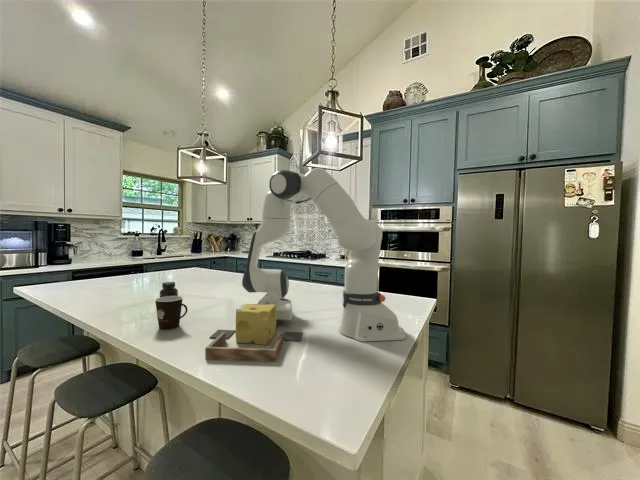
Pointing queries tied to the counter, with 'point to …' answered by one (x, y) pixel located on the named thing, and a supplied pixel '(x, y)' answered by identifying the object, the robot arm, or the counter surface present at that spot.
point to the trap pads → (287, 335)
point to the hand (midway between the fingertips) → (259, 318)
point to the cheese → (256, 323)
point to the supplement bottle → (168, 289)
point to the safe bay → (242, 351)
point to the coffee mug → (169, 311)
